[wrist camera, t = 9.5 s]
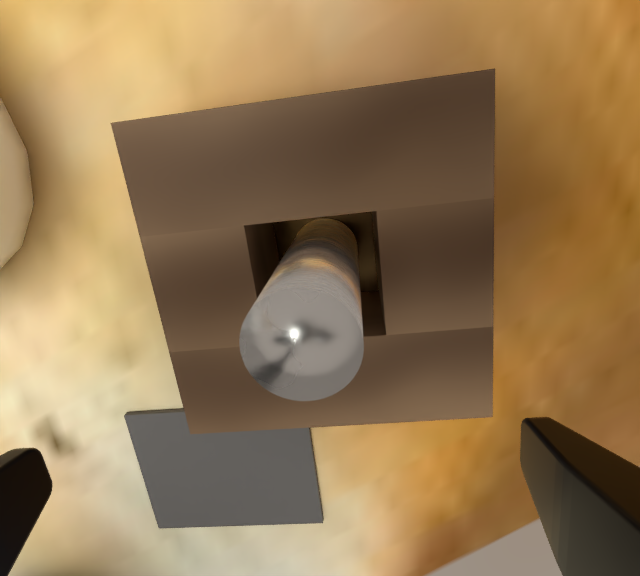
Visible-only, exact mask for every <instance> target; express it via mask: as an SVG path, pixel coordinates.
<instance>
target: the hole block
mask: <svg viewBox="0 0 640 576" xmlns="http://www.w3.org/2000/svg"><path fill="white" fill-rule="evenodd" d="M111 126H112V129H113V133H114V137H115V141H116V145H117V149H118V153H119V157H120V161H121V165H122V169H123V173H124V176H125V180H126V184H127V188H128V192H129V196H130V200H131V204H132V208H133V212H134V216H135V220H136V223H137V227H138V231H139V235H140V239H141V243H142V247H143V251H144V255H145V259H146V263H147V267H148V270H149V274H150V278H151V282H152V286H153V290H154V294H155V298H156V302H157V306H158V310H159V314H160V317H161V321H162V325H163V329H164V333H165V337H166V341H167V345H168V349H169V353H170V357H171V361H172V364H173V368H174V372H175V376H176V380H177V384H178V388H179V392H180V396H181V400H182V404H183V408H184V411H185V415H186V419H187V423H188V427H189V431H190V434H205V433H223V432H240V431H258V430H275V429H293V428H310V427H328V426H345V425H363V424H380V423H398V422H415V421H433V420H450V419H468V418H485V417H493V281H494V136H495V69H489V70H482V71H475V72H468V73H461V74H454V75H447V76H440V77H432V78H425V79H418V80H411V81H404V82H397V83H390V84H383V85H376V86H369V87H362V88H355V89H348V90H341V91H334V92H326V93H319V94H312V95H305V96H298V97H291V98H284V99H277V100H270V101H263V102H256V103H249V104H242V105H235V106H228V107H221V108H213V109H206V110H199V111H192V112H185V113H178V114H171V115H164V116H157V117H150V118H143V119H136V120H129V121H122V122H115V123H111ZM371 211H372V223H373V235H374V247H375V260H376V272H377V284H378V291H370V292H361V308H362V324H363V341H364V352H363V359H362V362H361V365H360V368H359V370H358V372H357V373H356V375H355V377H354V378H353V379H352V380H351V382H350V383H349V384H348V385H347V386H345V387H344V388H343V389H342V390H340V391H339V392H337V393H335V394H333V395H331V396H329V397H326V398H323V399H319V400H313V401H296V400H290V399H286V398H283V397H280V396H277V395H275V394H273V393H271V392H270V391H268V390H266V389H265V388H264V387H262V386H261V385H260V384H259V383H258V382H257V381H256V380H255V379H254V378H253V377H252V376H251V374H250V373H249V372H248V370H247V368H246V367H245V364H244V362H243V360H242V356H241V353H240V345H239V338H240V331H241V327H242V324H243V322H244V320H245V318H246V316H247V314H248V312H249V311H250V309H251V308H252V306H253V304H254V303H255V301H256V300H257V298H258V296H259V295H260V293H261V292H262V290H263V288H264V287H265V285H266V284H267V282H268V280H269V279H270V277H271V276H272V274H273V272H274V271H275V269H276V268H277V266H278V264H279V257H278V250H277V244H276V237H275V231H274V224H273V222H280V221H289V220H298V219H308V218H317V217H326V216H335V215H344V214H353V213H362V212H371Z"/></svg>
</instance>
